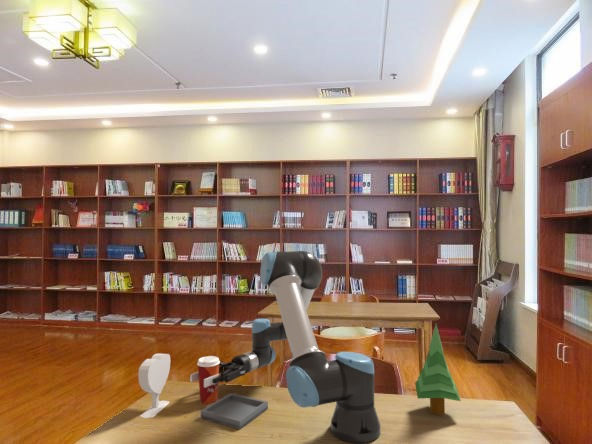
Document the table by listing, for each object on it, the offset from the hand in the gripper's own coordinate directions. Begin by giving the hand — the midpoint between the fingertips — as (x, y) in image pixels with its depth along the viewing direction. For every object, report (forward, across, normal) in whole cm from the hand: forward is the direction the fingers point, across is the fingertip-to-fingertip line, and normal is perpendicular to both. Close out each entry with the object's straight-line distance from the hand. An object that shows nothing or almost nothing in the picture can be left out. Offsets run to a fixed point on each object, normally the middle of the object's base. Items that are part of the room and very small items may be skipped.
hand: (197, 380), depth 144 cm
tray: (-4, -16, -8) cm, 18 cm away
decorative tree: (-47, -69, -9) cm, 84 cm away
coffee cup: (-5, 0, -9) cm, 10 cm away
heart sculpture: (+11, +9, -9) cm, 17 cm away
